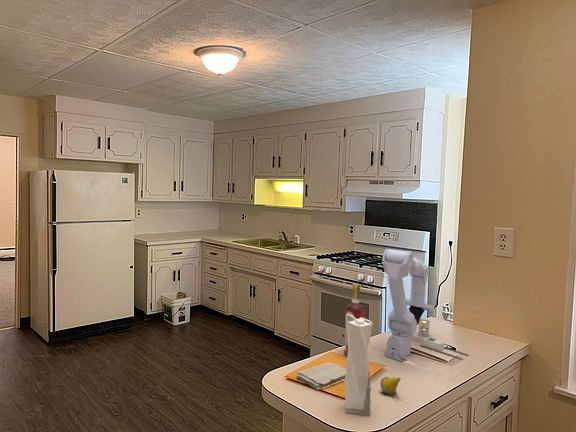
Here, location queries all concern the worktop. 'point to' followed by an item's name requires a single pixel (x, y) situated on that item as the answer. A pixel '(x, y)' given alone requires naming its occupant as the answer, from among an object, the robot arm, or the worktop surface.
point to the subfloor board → (447, 353)
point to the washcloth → (322, 375)
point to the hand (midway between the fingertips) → (415, 324)
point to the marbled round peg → (423, 328)
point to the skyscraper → (358, 367)
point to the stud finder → (433, 343)
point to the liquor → (353, 311)
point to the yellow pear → (389, 385)
